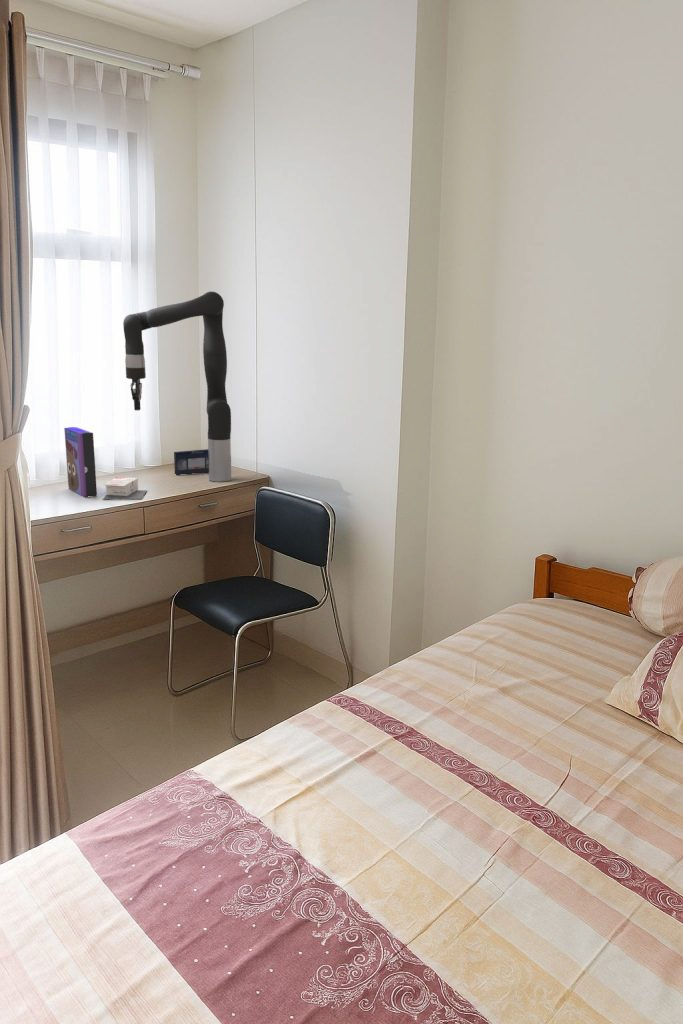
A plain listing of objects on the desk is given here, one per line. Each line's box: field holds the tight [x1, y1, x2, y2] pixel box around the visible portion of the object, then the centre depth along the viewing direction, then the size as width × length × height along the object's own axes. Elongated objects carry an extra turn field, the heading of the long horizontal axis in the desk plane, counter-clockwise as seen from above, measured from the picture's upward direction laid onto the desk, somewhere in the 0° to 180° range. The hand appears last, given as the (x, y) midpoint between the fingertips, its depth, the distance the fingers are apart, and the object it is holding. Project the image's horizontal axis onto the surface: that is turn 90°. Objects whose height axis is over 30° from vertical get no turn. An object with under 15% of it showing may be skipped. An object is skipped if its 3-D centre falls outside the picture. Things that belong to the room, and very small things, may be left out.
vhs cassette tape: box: [173, 448, 209, 476], centre depth 335 cm, size 18×3×10 cm, turn 119°
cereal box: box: [63, 426, 98, 498], centre depth 294 cm, size 17×5×24 cm, turn 37°
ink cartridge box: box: [103, 476, 139, 496], centre depth 294 cm, size 9×5×15 cm
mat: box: [102, 489, 148, 500], centre depth 293 cm, size 14×14×1 cm
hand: (137, 410), depth 311 cm, fingers closed
